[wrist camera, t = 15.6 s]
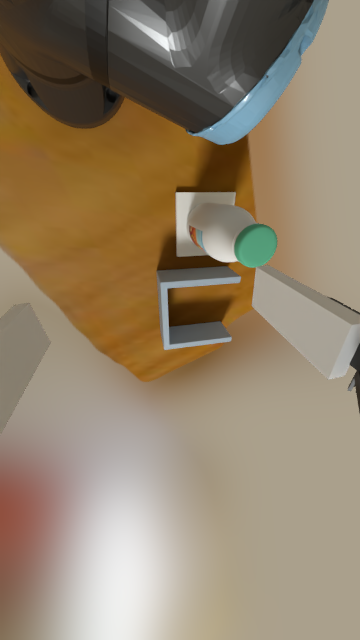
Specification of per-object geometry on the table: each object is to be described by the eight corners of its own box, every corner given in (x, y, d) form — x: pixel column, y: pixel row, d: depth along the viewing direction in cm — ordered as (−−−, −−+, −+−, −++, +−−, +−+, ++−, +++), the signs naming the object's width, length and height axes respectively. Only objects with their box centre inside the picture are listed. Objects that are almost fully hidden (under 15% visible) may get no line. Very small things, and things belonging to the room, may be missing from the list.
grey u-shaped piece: (156, 270, 43) (160, 282, 37) (226, 266, 45) (240, 276, 40) (160, 331, 51) (164, 349, 45) (220, 325, 53) (230, 341, 48)
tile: (175, 192, 36) (176, 192, 36) (233, 192, 38) (235, 192, 38) (176, 255, 42) (177, 256, 41) (227, 253, 44) (228, 253, 43)
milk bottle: (183, 205, 37) (226, 213, 20) (224, 199, 38) (298, 203, 21) (187, 249, 41) (225, 286, 24) (224, 243, 42) (285, 275, 25)
